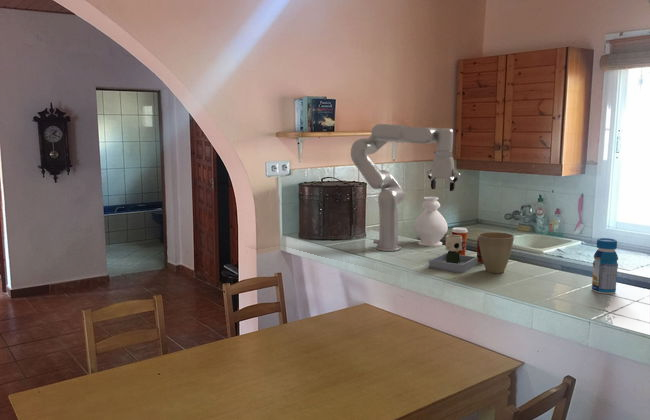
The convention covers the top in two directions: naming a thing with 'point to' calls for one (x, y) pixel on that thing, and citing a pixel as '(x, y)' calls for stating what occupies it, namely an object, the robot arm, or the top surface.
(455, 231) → the paper cup
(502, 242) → the plant pot
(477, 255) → the canned food
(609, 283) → the beverage bottle
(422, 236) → the decorative vase
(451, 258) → the character mug
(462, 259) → the grey bin
